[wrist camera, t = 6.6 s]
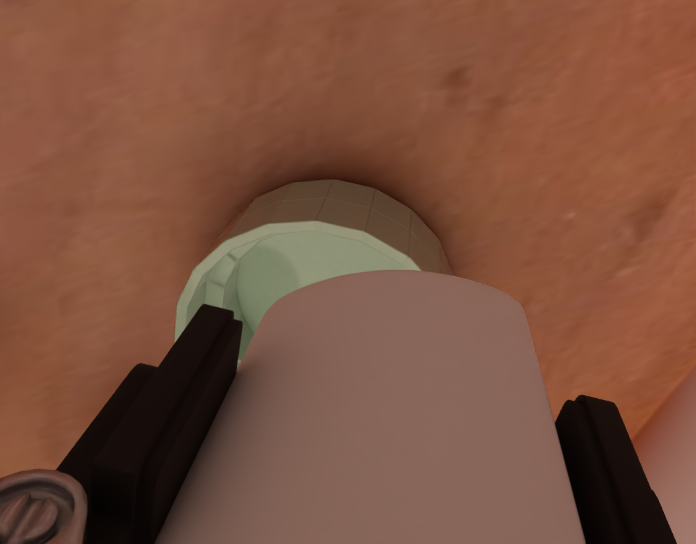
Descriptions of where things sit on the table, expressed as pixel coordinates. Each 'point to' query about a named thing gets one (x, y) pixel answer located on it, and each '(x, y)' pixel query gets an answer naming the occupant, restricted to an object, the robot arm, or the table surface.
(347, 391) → the eye dropper bottle
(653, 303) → the table surface
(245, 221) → the bowl
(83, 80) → the table surface
